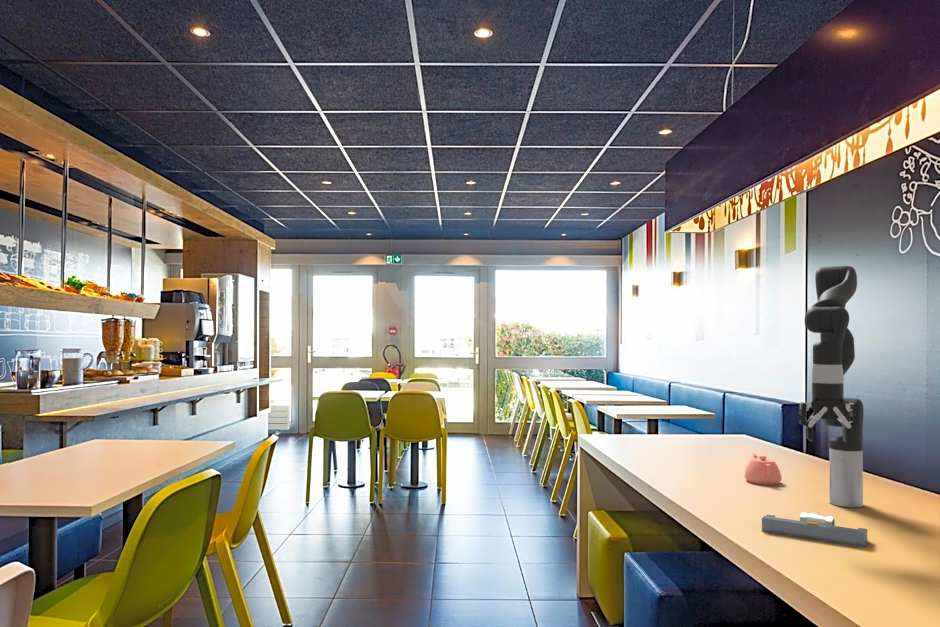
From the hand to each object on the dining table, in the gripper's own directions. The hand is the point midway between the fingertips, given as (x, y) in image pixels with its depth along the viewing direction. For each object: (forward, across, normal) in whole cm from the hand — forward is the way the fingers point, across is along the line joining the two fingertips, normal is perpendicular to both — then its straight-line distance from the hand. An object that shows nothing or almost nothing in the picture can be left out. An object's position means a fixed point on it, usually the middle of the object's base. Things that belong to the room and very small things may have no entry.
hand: (828, 441), depth 184 cm
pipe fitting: (+25, +1, -5) cm, 25 cm away
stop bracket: (+24, +5, +5) cm, 25 cm away
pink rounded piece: (+26, +2, -66) cm, 71 cm away
